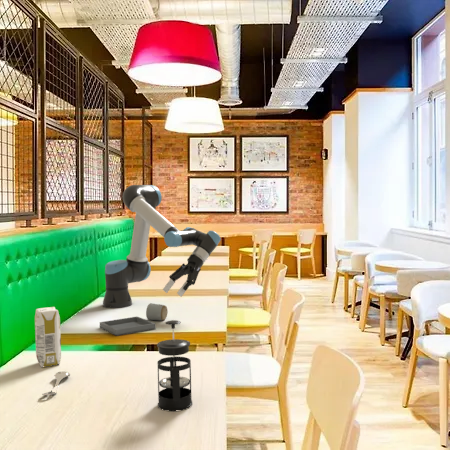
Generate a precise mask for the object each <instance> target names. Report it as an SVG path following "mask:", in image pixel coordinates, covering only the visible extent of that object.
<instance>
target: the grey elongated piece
mask: <svg viewBox="0 0 450 450" xmlns="http://www.w3.org/2000/svg"><path fill="white" fill-rule="evenodd" d="M67 376H69V377H70V376H71V373H69V372H68V371H59V372H56V373H55V374H54V378H55V379H56V383H55V385H54V386H58V387H59V384H60V382H61V380H63V379H65V378H68V377H67ZM56 394H57V392H56V393H55V392H50V391H48V392H45V393H42V394H41V395H42V396H46V395H47V396H49V395H52V396H53V395H56Z"/></svg>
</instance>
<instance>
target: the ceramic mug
mask: <svg viewBox="0 0 450 450" xmlns="http://www.w3.org/2000/svg"><path fill="white" fill-rule="evenodd" d="M168 312H169V311H168V307H167V306H166V305H164V304H159V303H151V302H150V303H148V305H147V306H146V312H145V316H146V320H148V321H158V322H159V321H165V320H166V319H167V317H168Z"/></svg>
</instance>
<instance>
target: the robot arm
mask: <svg viewBox="0 0 450 450" xmlns="http://www.w3.org/2000/svg"><path fill="white" fill-rule="evenodd" d="M122 200H123V201H122V202H123V203H124V205H125V207H126V208H127V209H128V210H130V212H132V213H135V217H134V223H133V232H132V238H131V243H130V244H131V245H130V246H131V247H130V252H129V254H128V255H127V256H126V259H117V260H111V261H109V262H107V263H106V264H105V266H104V267H105V269H104V276H105V278H104V279H105V293H104V296H103V300H102V306H103V307H104V308H110V309H112V308H113V309H115V308H127V307H131V306H132V304H133V300H132V297H131V294H130V292H129V284H133V283H140V282H143V281H145V280H147V279H148V278H149V277H150V275H151V271H152V268H151V263H150V262H149V258H148V257H147V256H146V255H147V251H148V250H147V249H148V243H149V235H150V231H151V230H150V229H151V227H152V228H153V229H154V230H155V231H156V233H158V234H160V235H161V236H162V237H163V238H164V239H163V240H164V243H165V245H166V246H168V247H170V248H179V247H183V246H185V247H186V246H195V249H193V251H192V253H191V254H190V255H189V257H188V258H187V263H186V264H185V263H182V264H181V265H180V266H179V267H178V268H177V269H176V270H175V271H173V273H171V274H170V275H169V277H168V278H169V280H168V282H167V283H166V284H165V285H164V287H162V290H163V292H165V293H166V294H167V293H168V292H169V291H170V290H171V289H172V287H173V286H174V285H175V283H176V281H178V280H179V279H181V278H182V277H183V276H186V275H187V277H186V280H185V281H184V283H183V284H182V285H181V287H179V289H178V291H177V292H176V294H177V295H178V296H179V298H180V297H181V298H182V297H183V296H184V294H185V293H186V292H187V290H188V289H189V287H191V286H194V285H195V284H196V281H197V280H198V279H197V278H198V276H199V273H200V271H201V270H202V269H201V268H202V267H203V265H204V263H205V262H206V261H207V260H208V259H209V258H210V256H211V254H212V253H213V252H214V250H215V249H216V248H217V247H218V245H219V244H220V242H221V240H222V238H221V236H220V234H219V233H217V232H216V231H214V230H208V232H207V233H205V232H202V231H200V230H198V229H196V228H194V227H190V226H186V228H184V229H183V230H180V229H178V228H177V227H176V226H175V225H174V224H172V222H170V221H169V220H168V219H167V218H165V217H164V215H162V213H159V211H158V210H156V207H158V206H159V205H160V204H161V202H162V193H161V191H160V188H158V187H157V186H156V185H152V184H132V185H129V186H127V187H126V188H125V189H124V191H123V193H122Z"/></svg>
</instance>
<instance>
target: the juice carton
mask: <svg viewBox="0 0 450 450" xmlns="http://www.w3.org/2000/svg"><path fill="white" fill-rule="evenodd" d="M59 313H60V312H59V310H58V309H56V307H55V306H50V307H48V306H47V307H40V308H36V309H35V315H34V330H35V331H34V335H35V338H34V339H35V355H36V360H37V363H38V364H39V365H40V368H44V367H43V366H49V367H52V366H51V365H55V366H58V365H57V364H61V360H62V344H61V343H62V339H61V337H62V335H61V317H60V314H59Z"/></svg>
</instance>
